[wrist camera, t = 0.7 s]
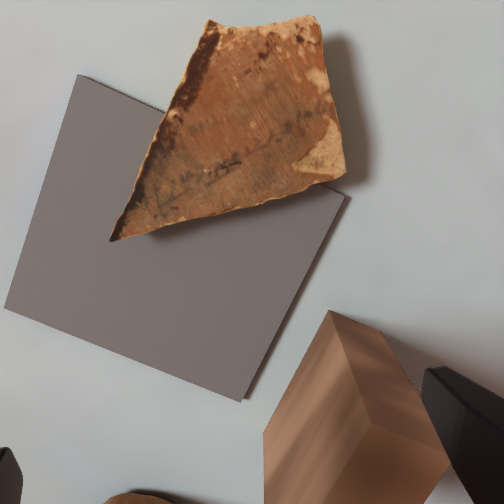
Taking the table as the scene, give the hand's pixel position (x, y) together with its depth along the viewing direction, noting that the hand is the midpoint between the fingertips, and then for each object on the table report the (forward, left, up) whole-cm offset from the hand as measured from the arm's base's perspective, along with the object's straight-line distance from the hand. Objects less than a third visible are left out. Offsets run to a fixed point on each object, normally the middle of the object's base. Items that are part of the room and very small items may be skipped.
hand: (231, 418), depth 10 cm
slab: (-6, +5, -13) cm, 15 cm away
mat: (+4, +1, -13) cm, 13 cm away
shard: (+2, -4, -12) cm, 13 cm away
